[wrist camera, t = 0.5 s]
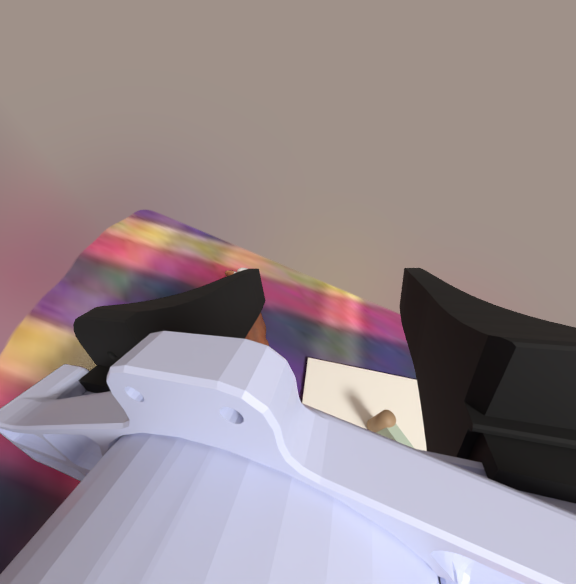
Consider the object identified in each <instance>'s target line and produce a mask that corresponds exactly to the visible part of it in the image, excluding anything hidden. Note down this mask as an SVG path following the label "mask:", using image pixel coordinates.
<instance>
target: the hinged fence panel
mask: <svg viewBox="0 0 576 584" xmlns="http://www.w3.org/2000/svg"><path fill="white" fill-rule="evenodd" d="M367 428H368V430H370V431H372V432H375V433H377V434H380V435H382V436H385V437H387V438H390V439H392V440H395V441H397V442H399V443H402V444H404V445H407V446H409V447H412V448H414V447H413V446H412V444H411V443H410V442H409V440H408V439H407V438H406V436H405V435H404V434H403V432H402V431H401V430H400V428H399V427H398V426H397V424H396V417H395V415H394V414H393V413H392V412H391V411H390V410H383V411H381V412H380V413H378V414H377V415H375V416H374V417H372V418H371V419H369V420H368V421H367ZM414 449H415V448H414Z"/></svg>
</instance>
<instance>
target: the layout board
mask: <svg viewBox="0 0 576 584" xmlns="http://www.w3.org/2000/svg"><path fill="white" fill-rule="evenodd" d="M302 403H303V404H305V405H308V406H310V407H313V408H315V409H318V410H320V411H323V412H325V413H328V414H330V415H333V416H335V417H338V418H340V419H343V420H345V421H347V422H350V423H352V424H355V425H357V426H360V427H362V428H365V429H367V430H368V428H367V421H368V420H369V419H371V418H372V417H374V416H375V415H377V414H378V413H380V412H381V411H383V410H390V411H391V412H392V413H393V414H394V415H395V417H396V424H397V426H398V427H399V428H400V430H401V431H402V432H403V434H404V435H405V436H406V438H407V439H408V440H409V442H410V443H411V444H412V446H413V447H414V448H415V449H419V450H424V451H427V448H426V440H425V433H424V425H423V417H422V410H421V404H420V397H419V390H418V384H417V380H415V379H410V378H405V377H400V376H395V375H390V374H385V373H381V372H376V371H371V370H366V369H361V368H356V367H352V366H347V365H342V364H337V363H332V362H327V361H323V360H318V359H313V358H308V361H307V368H306V376H305V383H304V391H303V399H302Z"/></svg>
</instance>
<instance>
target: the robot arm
mask: <svg viewBox="0 0 576 584" xmlns="http://www.w3.org/2000/svg"><path fill="white" fill-rule="evenodd" d="M264 303H265V297H264V292H263V287H262V282H261V278H260V273H259V269H245V270H242V271H239V272H237V273H234V274H232V275H229V276H227V277H225V278H222V279H220V280H218V281H215V282H212V283H210V284H207V285H205V286H202V287H200V288H197V289H194V290H191V291H187V292H184V293H181V294H177V295H173V296H168V297H164V298H160V299H155V300H149V301H143V302H137V303H130V304H120V305H110V306H100V307H96V308H94V309H92V310H90V311H89V312H87V313H85V314H83V315H82V316H80V317H78V318H77V319H75V322H74V332H75V335H76V337H77V339H78V340H79V342H80V343H81V345H82V346H83V348H84V349H85V350H86V352H87V353H88V354H89V356H90V357H91V358H92V360H93V361H94V363H95V364H96V365H97V366H96V367H94V368H93V369H92V370H91V371H89V370H87V369H86V368H83V367H79V366H74V365H68V364H64V365H62V366H61V367H59V368H58V369H56V370H55V371H54V372H52V373H51V374H49V375H48V376H46V377H45V378H44V379H42V380H41V381H39V382H38V383H36V384H35V385H33V386H32V387H31V388H29V389H28V390H26V391H25V392H23V393H22V394H21V395H19V396H18V397H16V398H15V399H13V400H12V401H10V402H9V403H8V404H6V405H5V406H3V407H2V408H0V433H1V434H2V435H3V436H4V437H6V438H7V439H8V440H9V441H11V442H12V443H13V444H14V445H16V446H17V447H18V448H19V449H21V450H22V451H23V452H25V453H26V454H27V455H28V456H30V457H31V458H32V459H33V460H35V461H37V462H40V463H42V464H44V465H47V466H49V467H51V468H54V469H56V470H58V471H60V472H62V473H64V474H67V475H69V476H71V477H73V478H75V479H77V480H79V481H81V482H80V483H79V484H78V486H77V487H76V488H75V489H74V490H73V491H72V493H71V494H70V495H69V496H68V497H67V498H66V499H65V501H64V502H63V503H62V504H61V505H60V506H59V508H58V509H57V510H56V511H55V512H54V513H53V514H52V516H51V517H50V518H49V519H48V520H47V521H46V522H45V524H44V525H43V526H42V527H41V528H40V529H39V531H38V532H37V533H36V534H35V535H34V536H33V537H32V539H31V540H30V541H29V542H28V543H27V544H26V546H25V547H24V548H23V549H22V550H21V551H20V552H19V554H18V555H17V556H16V557H15V558H14V559H13V560H12V562H11V563H10V564H9V565H8V566H7V567H6V569H5V570H4V571H3V572H2V573H1V574H0V584H576V328H575V327H570V326H566V325H562V324H558V323H554V322H549V321H545V320H541V319H538V318H534V317H530V316H527V315H524V314H521V313H517V312H514V311H511V310H508V309H505V308H502V307H499V306H496V305H493V304H491V303H488V302H486V301H483V300H481V299H478V298H476V297H474V296H471V295H469V294H467V293H465V292H463V291H461V290H459V289H457V288H455V287H453V286H451V285H449V284H447V283H445V282H444V281H442V280H441V279H439V278H437V277H435V276H434V275H432V274H430V273H429V272H427V271H425V270H423V269H421V268H405V269H404V276H403V285H402V292H401V300H400V314H401V321H402V326H403V330H404V333H405V337H406V340H407V343H408V347H409V350H410V353H411V357H412V360H413V364H414V368H415V372H416V378H417V384H418V390H419V397H420V404H421V410H422V417H423V425H424V433H425V440H426V448H427V451H424V450H419V449H414V448H412V447H409V446H407V445H404V444H402V443H399V442H397V441H395V440H392V439H390V438H387V437H385V436H382V435H380V434H377V433H375V432H372V431H370V430H367V429H365V428H362V427H360V426H357V425H355V424H352V423H350V422H347V421H345V420H343V419H340V418H338V417H335V416H333V415H330V414H328V413H325V412H323V411H320V410H318V409H315V408H313V407H310V406H308V405H305V404H303V403H301V401H300V398H299V396H298V390H297V384H296V378H295V376H294V374H293V372H292V370H291V368H290V366H289V364H288V362H287V360H286V359H285V358H283V357H282V356H281V355H280V354H278V353H277V352H276V351H274V350H273V349H272V348H271V347H269V346H268V345H265V344H262V343H258V342H255V341H252V340H249V339H245V337H246V336H247V334H248V333H249V331H250V330H251V328H252V326H253V325H254V323H255V322H256V320H257V318H258V317H259V315H260V313H261V310H262V308H263V305H264Z"/></svg>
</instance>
